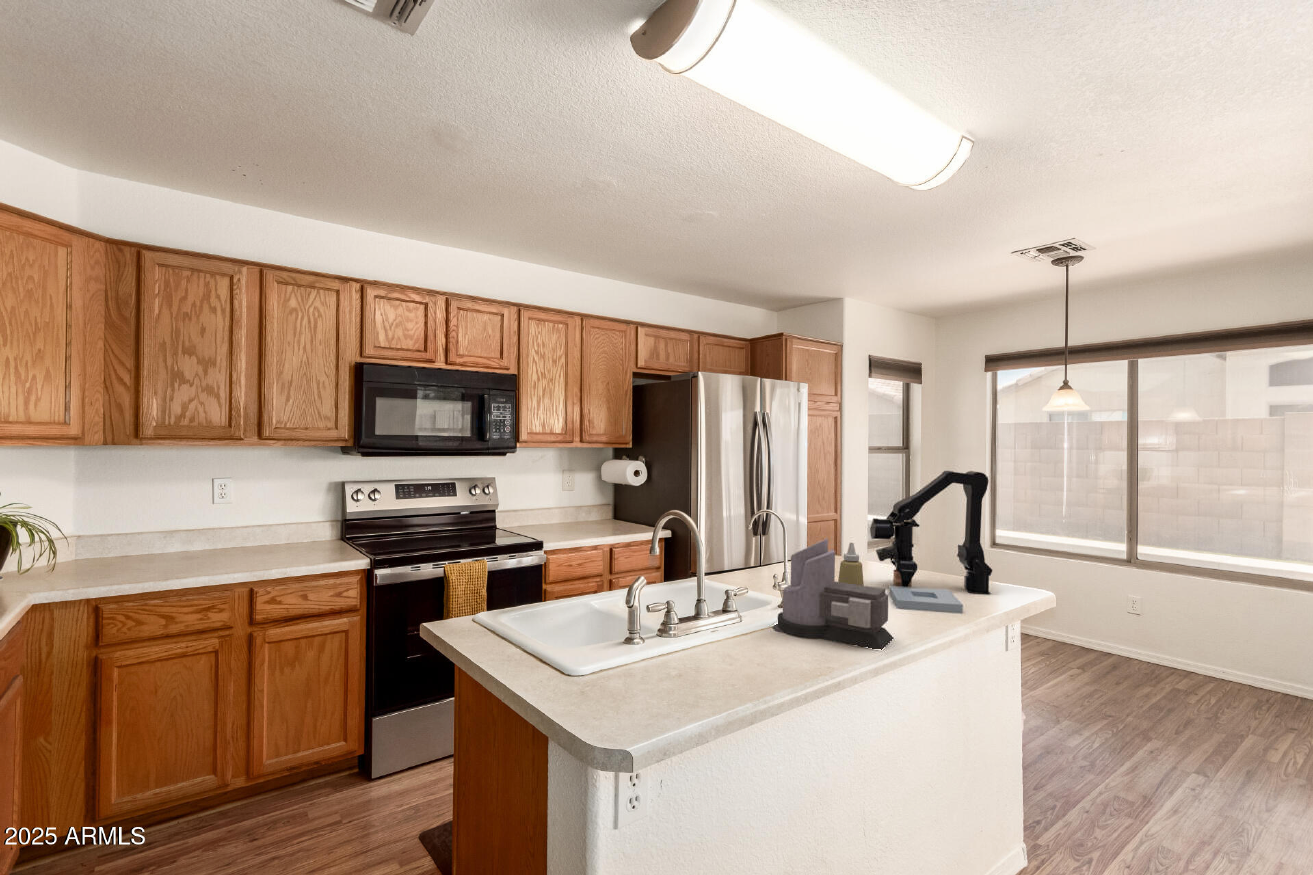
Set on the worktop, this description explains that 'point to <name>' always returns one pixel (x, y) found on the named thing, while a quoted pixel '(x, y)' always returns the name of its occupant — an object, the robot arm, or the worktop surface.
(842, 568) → the squeeze bottle
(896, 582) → the brown block
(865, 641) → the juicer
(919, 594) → the socket board
